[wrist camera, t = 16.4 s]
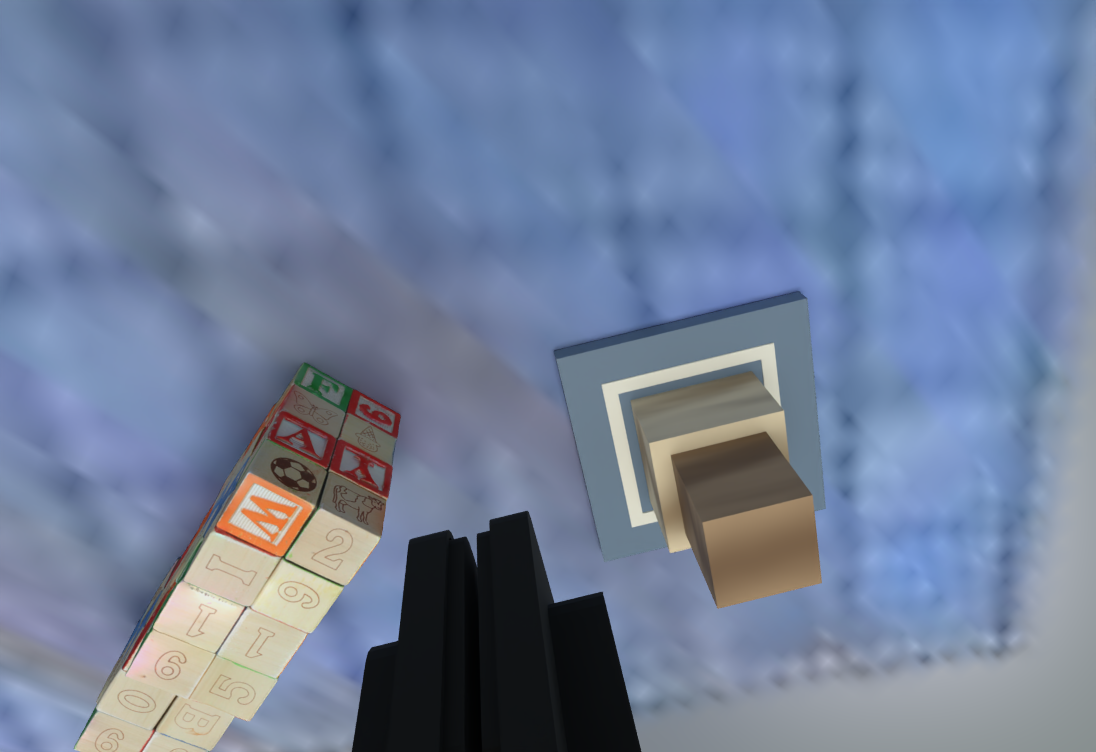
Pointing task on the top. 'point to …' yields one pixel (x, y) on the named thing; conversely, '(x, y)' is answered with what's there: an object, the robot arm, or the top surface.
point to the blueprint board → (671, 363)
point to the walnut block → (747, 519)
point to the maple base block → (698, 434)
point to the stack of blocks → (254, 573)
